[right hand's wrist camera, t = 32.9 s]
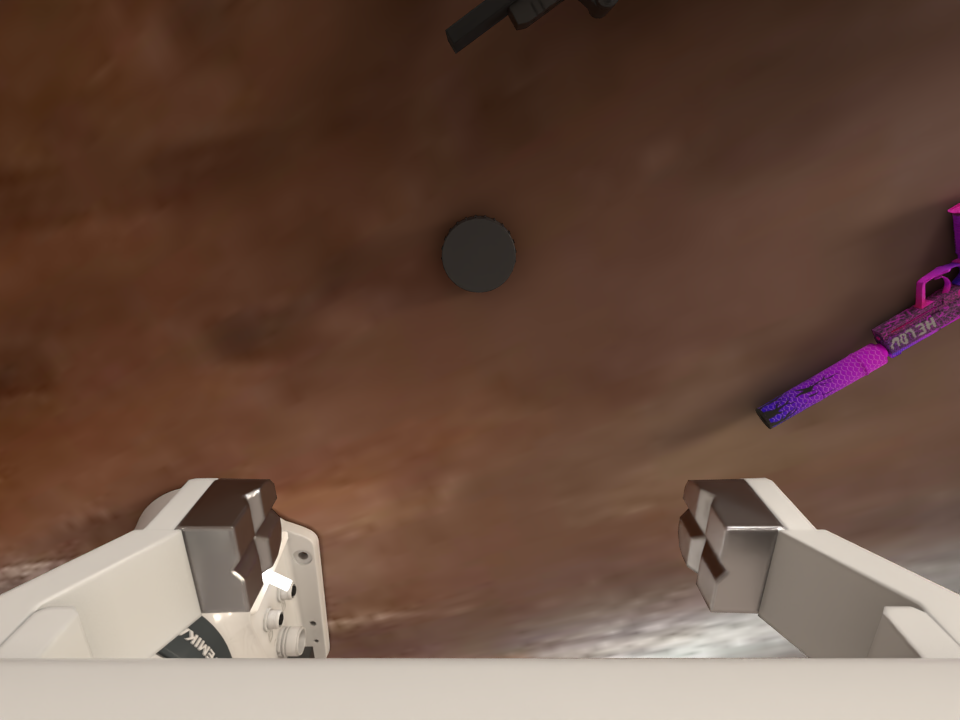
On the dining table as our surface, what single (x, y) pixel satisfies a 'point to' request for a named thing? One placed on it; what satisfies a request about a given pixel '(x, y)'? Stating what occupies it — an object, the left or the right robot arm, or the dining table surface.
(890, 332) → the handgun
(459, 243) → the lid
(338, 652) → the dining table surface
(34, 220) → the dining table surface
